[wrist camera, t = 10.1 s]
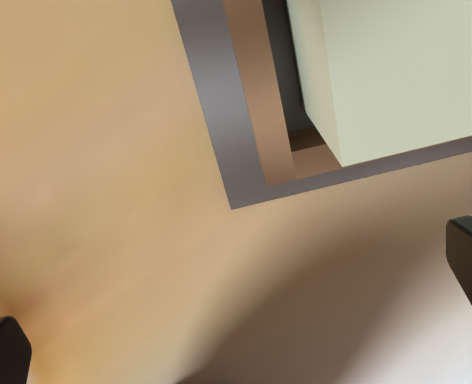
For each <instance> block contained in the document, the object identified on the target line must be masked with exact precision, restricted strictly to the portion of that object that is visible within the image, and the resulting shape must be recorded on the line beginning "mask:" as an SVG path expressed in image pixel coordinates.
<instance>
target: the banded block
mask: <svg viewBox="0 0 472 384" xmlns="http://www.w3.org/2000/svg"><path fill="white" fill-rule="evenodd" d="M283 2H284V8H285V13H286V19H287V25H288V31H289V37H290V42H291V48H292V54H293V60H294V65H295V71H296V77H297V83H298V89H299V94H300V100H301V106H302V108H303V109H304V111H305V112H306V114H307V115H308V117H309V118H310V120H311V121H312V123H313V124H314V126H315V127H316V128H317V130H318V131H319V133H320V134H321V136H322V137H323V139H324V140H325V142H326V143H327V145H328V146H329V148H330V149H331V151H332V152H333V154H334V155H335V157H336V158H337V160H338V161H339V163H340V164H341V166H342V167H345V166H349V165H353V164H357V163H361V162H365V161H369V160H373V159H377V158H381V157H386V156H390V155H394V154H398V153H402V152H406V151H410V150H414V149H418V148H423V147H427V146H431V145H435V144H439V143H443V142H447V141H451V140H455V139H460V138H464V137H468V136H472V0H283Z"/></svg>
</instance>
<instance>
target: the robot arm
mask: <svg viewBox="0 0 472 384" xmlns="http://www.w3.org/2000/svg"><path fill="white" fill-rule="evenodd" d="M446 257H447V261H448V264H449V266H450V267H451V269H452V271H453V273H454V275H455V276H456V278H457V280H458V282H459V283H460V285H461V287H462V289H463V291H464V292H465V294H466V296H467V298H468V300H469V301H470V303H471V305H472V216H463V217H458V218H454V219H450V220H449V221H448V222H447V225H446ZM31 356H32V348H31V344H30V342H29V340H28V338H27V337H26V335H25V333H24V332H23V330H22V328H21V327H20V325H19V323H18V322H17V320H16V319H15V318H14V317H12V316H4V317H0V384H26V382H27V377H28V372H29V366H30V361H31Z"/></svg>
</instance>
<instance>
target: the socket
mask: <svg viewBox="0 0 472 384" xmlns="http://www.w3.org/2000/svg"><path fill="white" fill-rule="evenodd" d="M171 2H172V6H173V9H174V13H175V16H176V20H177V23H178V27H179V30H180V34H181V37H182V41H183V44H184V48H185V51H186V55H187V58H188V62H189V65H190V68H191V72H192V75H193V79H194V82H195V86H196V89H197V93H198V96H199V100H200V103H201V107H202V110H203V114H204V117H205V121H206V124H207V128H208V131H209V135H210V138H211V142H212V145H213V148H214V152H215V155H216V159H217V162H218V166H219V169H220V173H221V176H222V180H223V183H224V187H225V190H226V194H227V197H228V201H229V204H230V208H231V210H233V209H237V208H241V207H245V206H249V205H253V204H257V203H261V202H266V201H270V200H274V199H278V198H282V197H286V196H290V195H294V194H299V193H303V192H307V191H311V190H315V189H319V188H323V187H328V186H332V185H336V184H340V183H344V182H348V181H352V180H356V179H361V178H365V177H369V176H373V175H377V174H381V173H385V172H389V171H394V170H398V169H402V168H406V167H410V166H414V165H418V164H423V163H427V162H431V161H435V160H439V159H443V158H447V157H451V156H456V155H460V154H464V153H468V152H472V136H468V137H464V138H460V139H455V140H451V141H447V142H443V143H439V144H435V145H431V146H427V147H423V148H418V149H414V150H410V151H406V152H402V153H398V154H394V155H390V156H386V157H381V158H377V159H373V160H369V161H365V162H361V163H357V164H353V165H349V166H345V167H342V166H341V164H340V163H339V161H338V160H337V158H336V157H335V155H334V154H333V152H332V151H331V149H330V148H329V146H328V145H327V143H326V142H325V140H324V139H323V137H322V136H321V134H320V133H319V131H318V130H317V128H316V127H315V126H314V124H313V123H312V121H311V120H310V118H309V117H308V115H307V114H306V112H305V111H304V109H303V108H302V106H301V100H300V94H299V89H298V83H297V77H296V71H295V65H294V60H293V54H292V48H291V42H290V37H289V31H288V25H287V19H286V13H285V8H284V2H283V0H171Z"/></svg>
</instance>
